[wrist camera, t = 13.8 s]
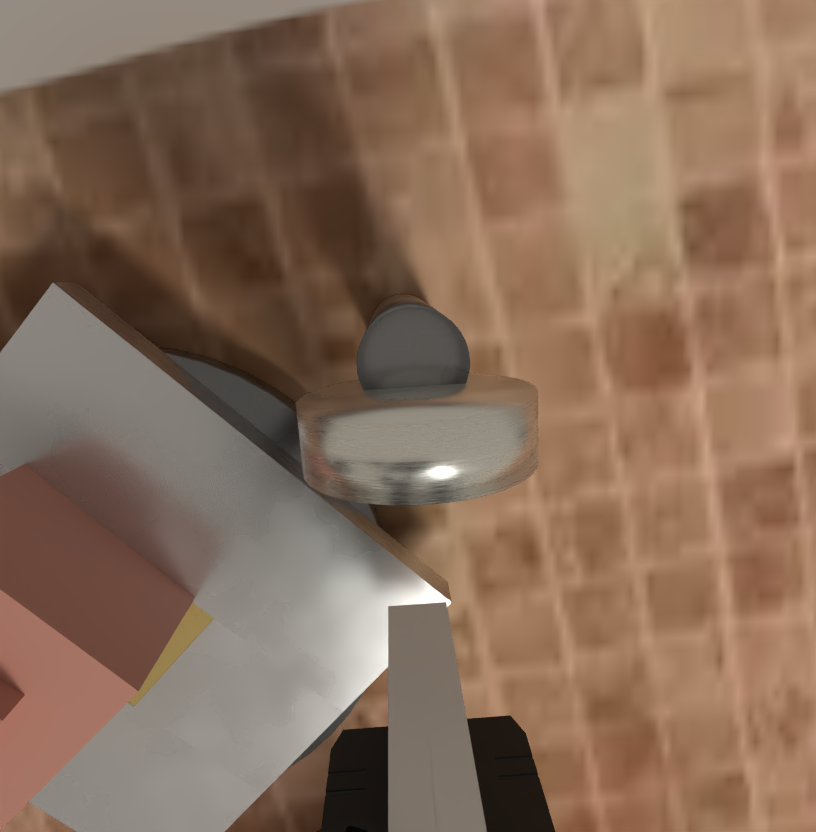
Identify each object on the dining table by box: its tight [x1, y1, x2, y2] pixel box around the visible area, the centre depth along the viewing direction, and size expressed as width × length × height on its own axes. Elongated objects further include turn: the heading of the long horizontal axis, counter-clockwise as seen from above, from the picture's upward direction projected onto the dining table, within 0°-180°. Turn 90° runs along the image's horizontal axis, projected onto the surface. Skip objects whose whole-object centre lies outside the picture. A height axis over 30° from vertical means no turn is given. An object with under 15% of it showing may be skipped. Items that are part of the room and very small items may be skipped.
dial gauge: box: [296, 294, 539, 505], centre depth 13 cm, size 4×3×11 cm, turn 93°
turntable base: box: [158, 347, 381, 768], centre depth 19 cm, size 16×16×1 cm
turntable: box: [0, 282, 451, 832], centre depth 16 cm, size 14×14×6 cm
